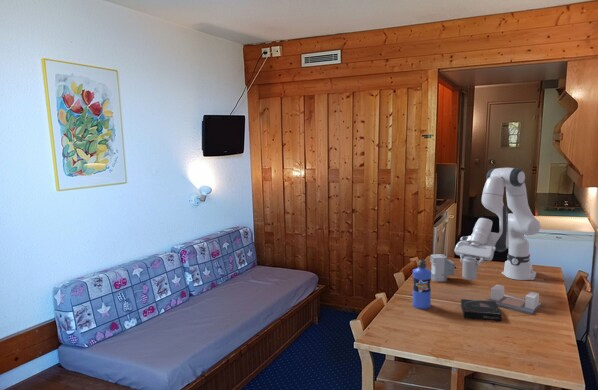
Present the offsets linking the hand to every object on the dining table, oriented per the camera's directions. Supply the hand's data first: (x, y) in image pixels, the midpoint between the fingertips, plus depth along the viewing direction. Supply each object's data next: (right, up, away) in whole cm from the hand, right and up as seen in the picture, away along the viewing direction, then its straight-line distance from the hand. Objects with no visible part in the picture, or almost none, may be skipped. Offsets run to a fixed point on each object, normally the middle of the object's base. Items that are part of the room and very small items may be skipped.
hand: (469, 263), depth 227 cm
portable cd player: (-2, -22, -18) cm, 29 cm away
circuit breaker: (-3, -15, +32) cm, 36 cm away
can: (+1, -8, +2) cm, 9 cm away
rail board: (+19, -20, -9) cm, 29 cm away
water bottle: (-28, -21, -7) cm, 36 cm away
